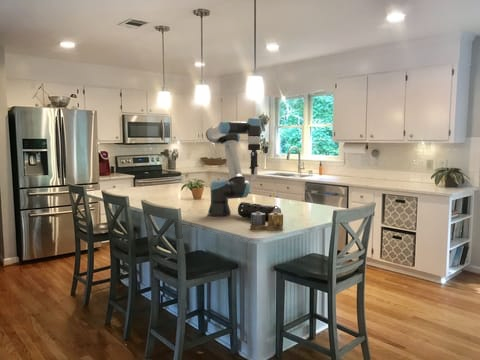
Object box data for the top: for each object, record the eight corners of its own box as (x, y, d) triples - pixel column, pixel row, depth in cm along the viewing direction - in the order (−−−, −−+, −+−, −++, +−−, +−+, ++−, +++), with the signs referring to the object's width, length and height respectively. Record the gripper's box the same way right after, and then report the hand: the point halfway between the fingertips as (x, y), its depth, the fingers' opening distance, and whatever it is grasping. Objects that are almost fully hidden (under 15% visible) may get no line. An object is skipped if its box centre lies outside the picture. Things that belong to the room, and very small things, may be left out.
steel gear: (250, 225, 222) (250, 214, 222) (251, 222, 230) (251, 212, 230) (264, 225, 221) (264, 215, 221) (265, 222, 229) (265, 212, 229)
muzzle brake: (246, 216, 259) (246, 200, 258) (282, 221, 242) (282, 205, 241) (237, 218, 252) (237, 202, 251) (273, 224, 234) (273, 207, 233)
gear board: (250, 229, 221) (250, 213, 220) (252, 225, 232) (252, 210, 231) (282, 230, 219) (283, 214, 218) (283, 225, 230) (283, 210, 229)
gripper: (258, 144, 225) (258, 180, 228) (261, 143, 250) (261, 176, 252) (245, 144, 226) (245, 180, 229) (250, 143, 251) (250, 176, 253)
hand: (254, 178), depth 240 cm, fingers open, 13 cm apart
